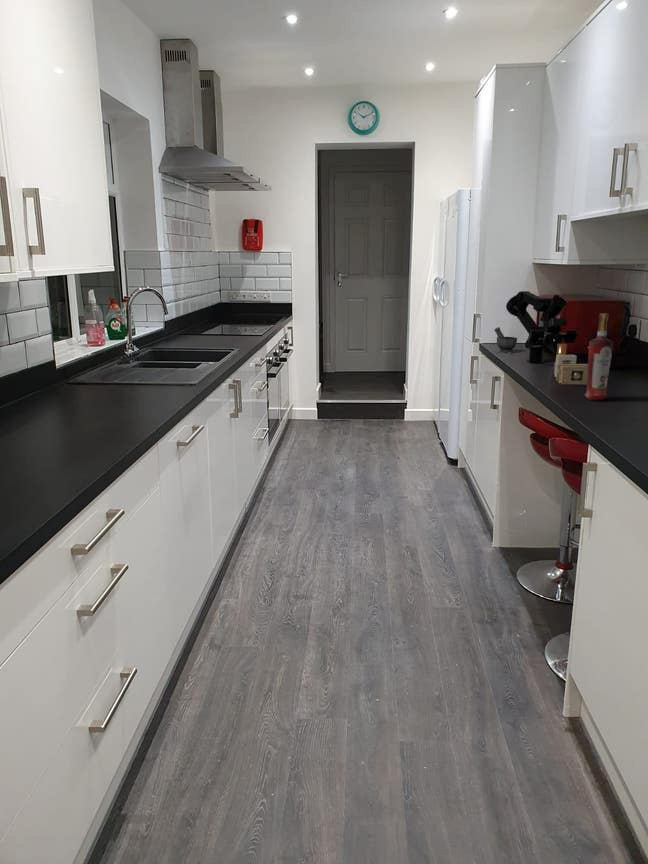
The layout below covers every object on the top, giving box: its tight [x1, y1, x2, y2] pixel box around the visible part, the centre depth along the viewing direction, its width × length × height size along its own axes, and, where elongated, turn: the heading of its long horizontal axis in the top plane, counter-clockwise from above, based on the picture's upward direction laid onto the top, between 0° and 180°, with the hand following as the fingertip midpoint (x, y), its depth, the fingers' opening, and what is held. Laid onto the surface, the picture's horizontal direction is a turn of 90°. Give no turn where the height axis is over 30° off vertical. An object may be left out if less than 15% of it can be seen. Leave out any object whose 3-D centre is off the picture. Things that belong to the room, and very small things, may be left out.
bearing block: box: [555, 363, 588, 385], centre depth 248 cm, size 7×11×6 cm, turn 87°
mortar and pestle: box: [494, 326, 518, 354], centre depth 322 cm, size 11×9×12 cm
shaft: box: [553, 342, 581, 379], centre depth 255 cm, size 23×6×12 cm, turn 177°
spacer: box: [554, 354, 578, 378], centre depth 259 cm, size 3×7×8 cm, turn 87°
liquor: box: [584, 312, 614, 402], centre depth 217 cm, size 7×7×28 cm
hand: (555, 353), depth 272 cm, fingers closed
